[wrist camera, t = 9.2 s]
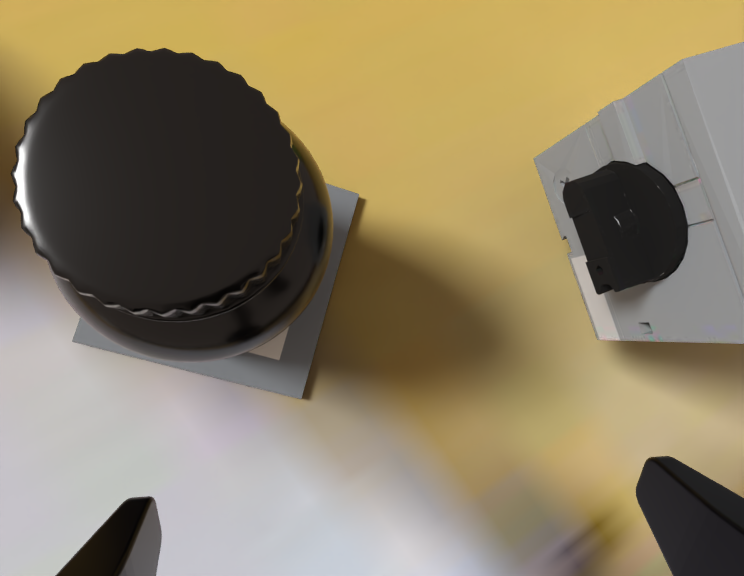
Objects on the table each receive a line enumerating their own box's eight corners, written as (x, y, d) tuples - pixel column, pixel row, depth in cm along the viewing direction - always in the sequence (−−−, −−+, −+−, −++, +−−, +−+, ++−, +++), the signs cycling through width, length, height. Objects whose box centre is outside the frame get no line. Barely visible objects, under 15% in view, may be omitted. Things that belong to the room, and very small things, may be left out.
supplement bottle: (128, 189, 20) (-78, -15, 8) (302, 178, 21) (335, -9, 10) (144, 361, 20) (-50, 405, 8) (320, 339, 21) (378, 349, 9)
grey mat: (300, 397, 21) (301, 399, 21) (76, 341, 20) (71, 341, 19) (357, 196, 22) (359, 193, 22) (149, 129, 21) (147, 125, 20)
